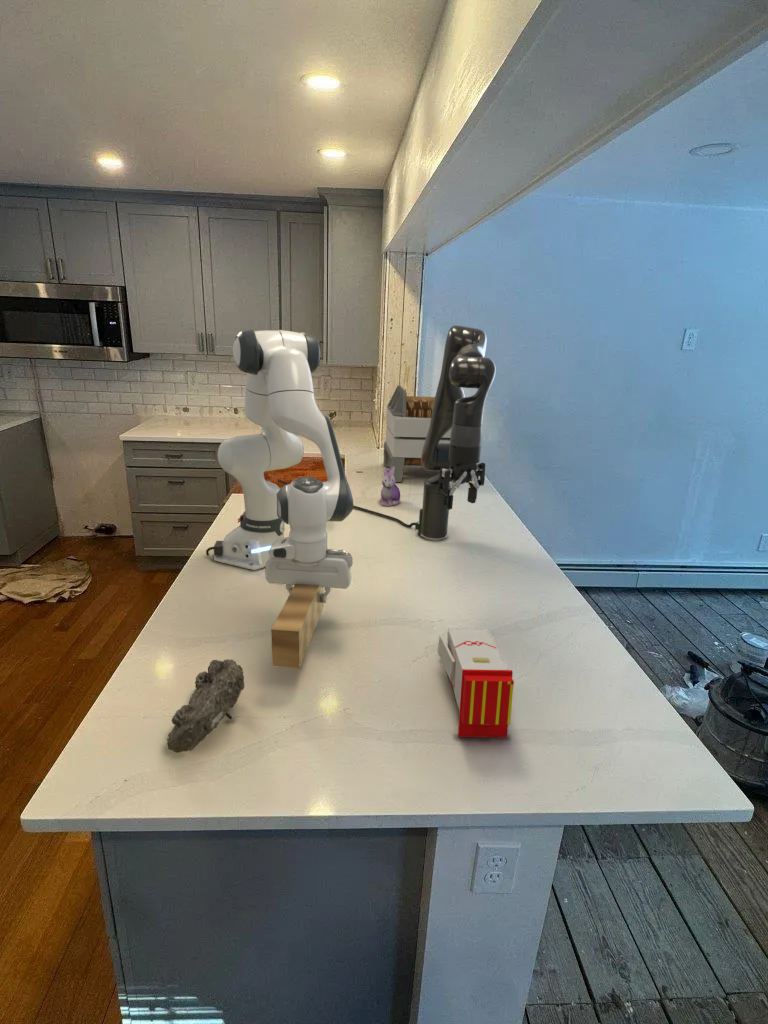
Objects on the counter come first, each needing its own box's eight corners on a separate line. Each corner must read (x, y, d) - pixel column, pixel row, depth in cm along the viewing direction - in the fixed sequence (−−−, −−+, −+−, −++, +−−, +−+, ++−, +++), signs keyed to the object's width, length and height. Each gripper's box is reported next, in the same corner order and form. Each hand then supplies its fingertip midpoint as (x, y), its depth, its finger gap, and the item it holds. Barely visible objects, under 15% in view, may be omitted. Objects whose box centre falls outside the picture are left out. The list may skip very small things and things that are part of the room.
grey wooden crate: (382, 463, 289) (386, 382, 275) (445, 464, 293) (451, 384, 279) (390, 482, 257) (394, 392, 243) (460, 483, 261) (468, 394, 247)
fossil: (192, 660, 117) (244, 628, 112) (224, 691, 120) (276, 661, 115) (142, 746, 98) (202, 712, 93) (182, 779, 101) (242, 748, 96)
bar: (299, 668, 116) (298, 631, 113) (272, 666, 117) (271, 629, 114) (323, 606, 141) (323, 574, 138) (301, 604, 141) (300, 573, 138)
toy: (488, 613, 130) (523, 677, 101) (484, 667, 133) (517, 744, 104) (435, 612, 130) (455, 676, 101) (432, 666, 133) (451, 743, 103)
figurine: (385, 507, 225) (387, 471, 220) (373, 500, 233) (375, 464, 228) (406, 505, 229) (408, 469, 224) (394, 497, 237) (395, 462, 232)
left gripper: (354, 545, 134) (353, 597, 138) (269, 539, 135) (271, 591, 140) (350, 556, 128) (349, 610, 132) (261, 550, 129) (263, 603, 134)
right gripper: (473, 436, 144) (467, 496, 149) (433, 442, 135) (428, 506, 141) (496, 442, 139) (489, 504, 144) (456, 448, 130) (450, 515, 135)
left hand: (308, 600), depth 136 cm, fingers closed on bar, 5 cm apart
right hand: (459, 505), depth 142 cm, fingers open, 8 cm apart
